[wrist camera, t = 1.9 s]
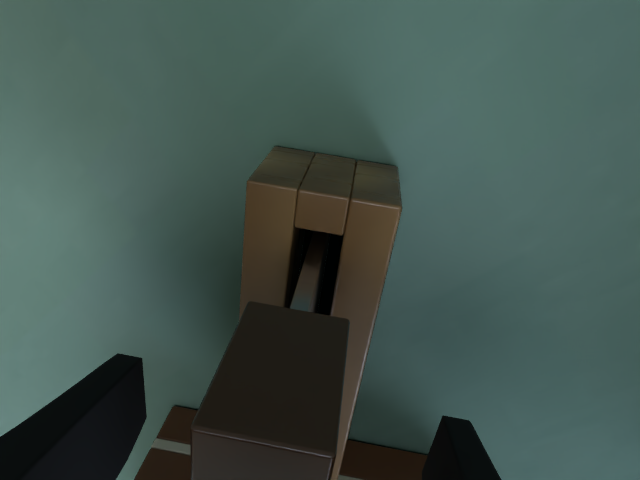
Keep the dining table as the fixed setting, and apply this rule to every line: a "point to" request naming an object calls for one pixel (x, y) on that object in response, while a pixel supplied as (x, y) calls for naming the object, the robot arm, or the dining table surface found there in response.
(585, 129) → the dining table surface
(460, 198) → the dining table surface
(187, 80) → the dining table surface
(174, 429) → the cake slice
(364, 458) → the chocolate cake
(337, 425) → the cake cutter
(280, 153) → the knife block
